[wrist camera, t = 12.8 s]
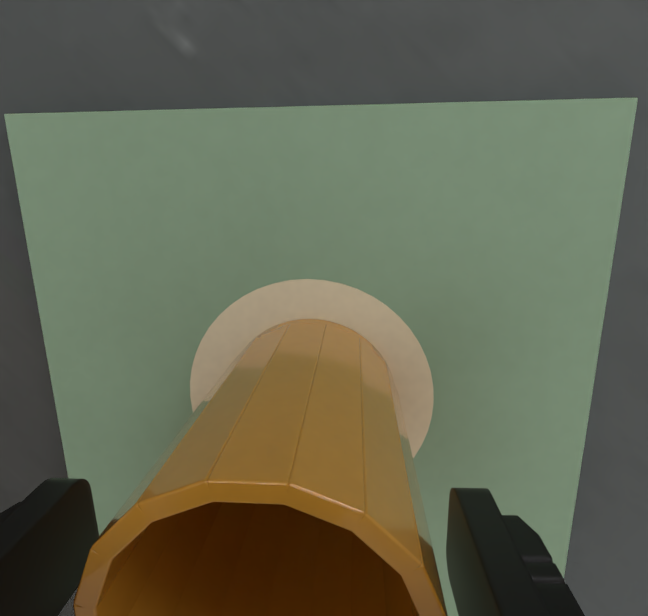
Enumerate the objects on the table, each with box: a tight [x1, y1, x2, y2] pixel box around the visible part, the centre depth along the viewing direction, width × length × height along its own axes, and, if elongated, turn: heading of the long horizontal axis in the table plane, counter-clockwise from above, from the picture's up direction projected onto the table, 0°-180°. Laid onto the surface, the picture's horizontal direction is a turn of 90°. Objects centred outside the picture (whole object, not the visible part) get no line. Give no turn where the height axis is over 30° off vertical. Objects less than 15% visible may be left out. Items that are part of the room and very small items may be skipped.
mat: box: [4, 98, 638, 616], centre depth 16 cm, size 20×20×1 cm
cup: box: [73, 319, 448, 616], centre depth 11 cm, size 6×6×9 cm
